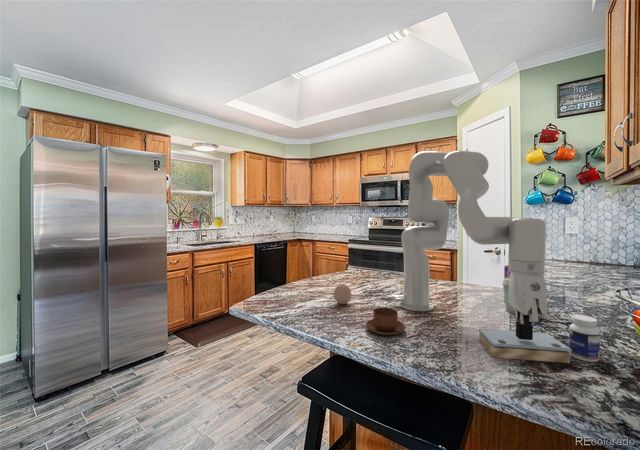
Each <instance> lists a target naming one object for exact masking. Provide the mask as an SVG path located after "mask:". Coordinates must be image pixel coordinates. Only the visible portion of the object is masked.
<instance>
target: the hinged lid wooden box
mask: <svg viewBox="0 0 640 450" xmlns="http://www.w3.org/2000/svg"><path fill="white" fill-rule="evenodd" d="M478 336H479V337H478V338H479V339H478V341H479V343H480V344H481V345H482V346H483V347H484V348H485V350H486V352H488V353H489V355H490V356H491V357H492V358H499V359H511V360H513V359H514V360H525V361H526V360H527V361H537V362H538V361H539V362H552V363H564V364H570V363H571V355H570V352H569V351H556V350H542V349H528V348H513V347H499V346H493V345H492V344H491V343H490V342H489V341H488V340H487V339H486V338H485V337H484V336H483V335H482V334H481V333H480V332H479V331H478Z"/></svg>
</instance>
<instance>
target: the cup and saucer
mask: <svg viewBox="0 0 640 450" xmlns="http://www.w3.org/2000/svg"><path fill="white" fill-rule="evenodd" d="M372 314H373V315H372V316H373V317H372V319H370V320H368V321H366V323H365V327H366V328H367V329H368V330H369V331H370V332H372V333H374V334H377V335H382V336H394V335H400V334H401V333H403V332H404V331H405V330H406V325H405V323H403V322H401V321H399V320H398V311H397V310H395V309H393V308H389V307H378V308H374V309H373V313H372Z"/></svg>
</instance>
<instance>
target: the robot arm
mask: <svg viewBox="0 0 640 450" xmlns="http://www.w3.org/2000/svg"><path fill="white" fill-rule="evenodd" d="M489 165H490V164H489V160H488V157H486V156H485V155H484V154H483V153H481V152H479V151H478V152H477V151H471V150H470V151H468V150H455V151H451V152H444V151H436V150H435V151H432V150H430V151H429V150H428V151H427V150H426V151H420V152H417V153H416V154H415V155H414V156H413V157H412V159H411V160H410V162H409V166H408V178H409V179H408V181H409V191H408V204H407V218H408V220H409V221H410V222H412V223H416V224H428V225H426V226H425V225H413V226H409V227H406V228H405V229H404V230H403V231H402V233H401V235H400V236H401V246H402V252H403V292H402V294H400V295H395V294H393V295H391V300H392V301H395V302H399V306H400V307H401V308H402V309H404V310H407V311H414V312H429V311H432V310H434V307H435V305H434V304H433V303H432V302H430V260H429V258H428V256H427V254H426V251H434V250H440V249H442V248H443V247H444V246H445V244H446V242H447V236H448V227H449V220H450V218H449V217H450V209H449V205H448V204H447V202H446V201H445V200H443V199H441V198H434V197H433V193H434V186H433V182H432V180H431V178H430V176H432V177H433V176H434V177H435V176H436V177H447V178H448V179H449V181H450V183H451V184H452V185H453V188H454V190H455V191H456V194H457V195H458V196H459V201H458V211H457V212H458V213H457V214H458V219H459V221H460V223H461V226H462V227H463V229H464V230H465V232H466V234H467V236H469V238H470V239H471V241H473V242H474V243H475V244H478V245H481V246H483V245H484V246H487V245H508V259H507V260H508V264H507V265H508V271H509V272H510V278H509V291H508V299H509V304H510V305H511V306H512V307H513V309H514V310H515V314H514V315H515V316H514V317H515V321H516V322H515V331H516V337H518V338H519V339H522V340H532V339H533V332H534V326H535V323H539V316H541V317H545V316H547V313H548V311H547V308H548V307H547V306H548V305H547V302H548V301H547V300H548V299H547V287H546V279H545V264H546V263H545V262H546V231H547V230H546V222H545V220H543V219H541V218H534V217H511V216H486V215H485V213H484V211H483V210H482V209H481V207H480V205H479V202H478V200H479V199H480V198H482V197H484V195H485V194H486V193H487V192H488V191H489V187H490V184H489V182H488V180H487V179H486V177H485V176H484V175H486V173H487V171H488V170H489Z"/></svg>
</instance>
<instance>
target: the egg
mask: <svg viewBox="0 0 640 450" xmlns="http://www.w3.org/2000/svg"><path fill="white" fill-rule="evenodd" d="M333 298H334V300H335V301H336V302H337V303H338V304H339V305H346V304H347V303H349V302H350V301H351V299H352V291H351V288H350V287H349V286H348V285H347V283H346V284H345V283H339V284H338V285H336V287H335V288H334V291H333Z"/></svg>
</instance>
